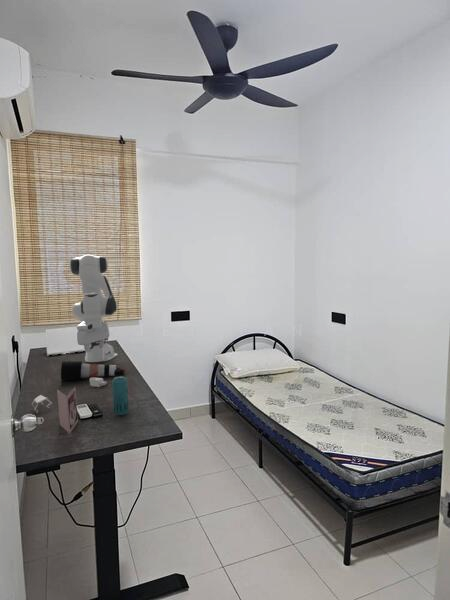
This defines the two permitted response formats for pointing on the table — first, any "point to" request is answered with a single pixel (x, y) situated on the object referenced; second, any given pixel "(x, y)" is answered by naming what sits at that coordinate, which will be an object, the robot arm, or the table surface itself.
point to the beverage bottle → (120, 393)
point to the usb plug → (97, 382)
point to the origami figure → (40, 399)
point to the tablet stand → (62, 341)
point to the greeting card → (68, 410)
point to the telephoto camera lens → (85, 370)
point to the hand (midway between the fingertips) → (95, 349)
